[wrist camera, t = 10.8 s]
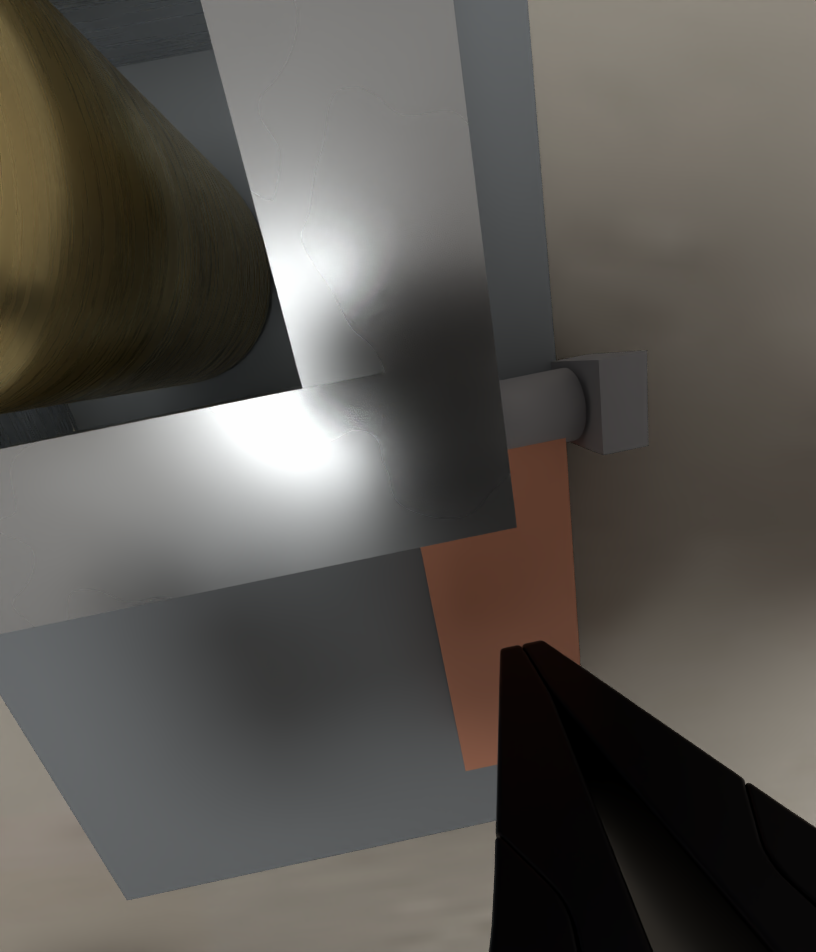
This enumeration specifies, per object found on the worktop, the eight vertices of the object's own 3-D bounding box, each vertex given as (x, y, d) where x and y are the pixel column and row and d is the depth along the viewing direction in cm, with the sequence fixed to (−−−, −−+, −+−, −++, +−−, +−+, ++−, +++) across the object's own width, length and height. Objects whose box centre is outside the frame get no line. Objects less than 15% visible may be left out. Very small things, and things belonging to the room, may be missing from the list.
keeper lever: (375, 401, 8) (375, 410, 6) (549, 366, 8) (583, 368, 6) (445, 728, 11) (455, 782, 9) (574, 701, 11) (601, 750, 9)
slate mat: (605, 781, 12) (654, 870, 10) (135, 882, 12) (81, 996, 10) (540, -280, 6) (632, -655, 4) (-451, -101, 6) (-959, -388, 3)
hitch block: (447, 445, 8) (516, 527, 4) (31, 530, 8) (-348, 706, 4) (351, -136, 6) (267, -1522, 2) (-254, -26, 6) (-2150, -1201, 1)
